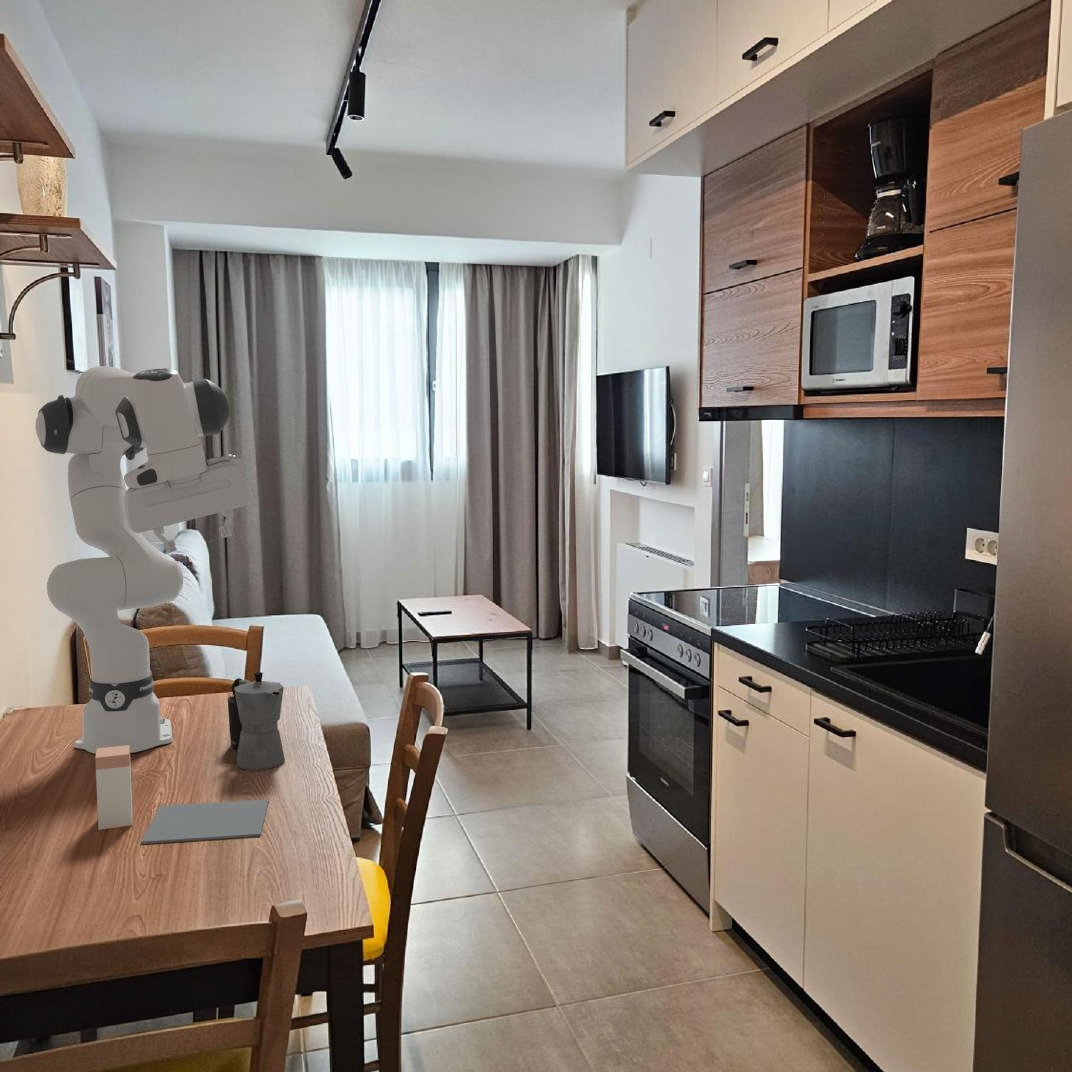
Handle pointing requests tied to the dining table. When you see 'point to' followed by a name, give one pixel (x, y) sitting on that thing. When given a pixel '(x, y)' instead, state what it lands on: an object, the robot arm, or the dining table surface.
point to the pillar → (114, 787)
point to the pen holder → (234, 723)
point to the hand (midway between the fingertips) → (199, 544)
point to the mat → (207, 821)
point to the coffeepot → (258, 723)
